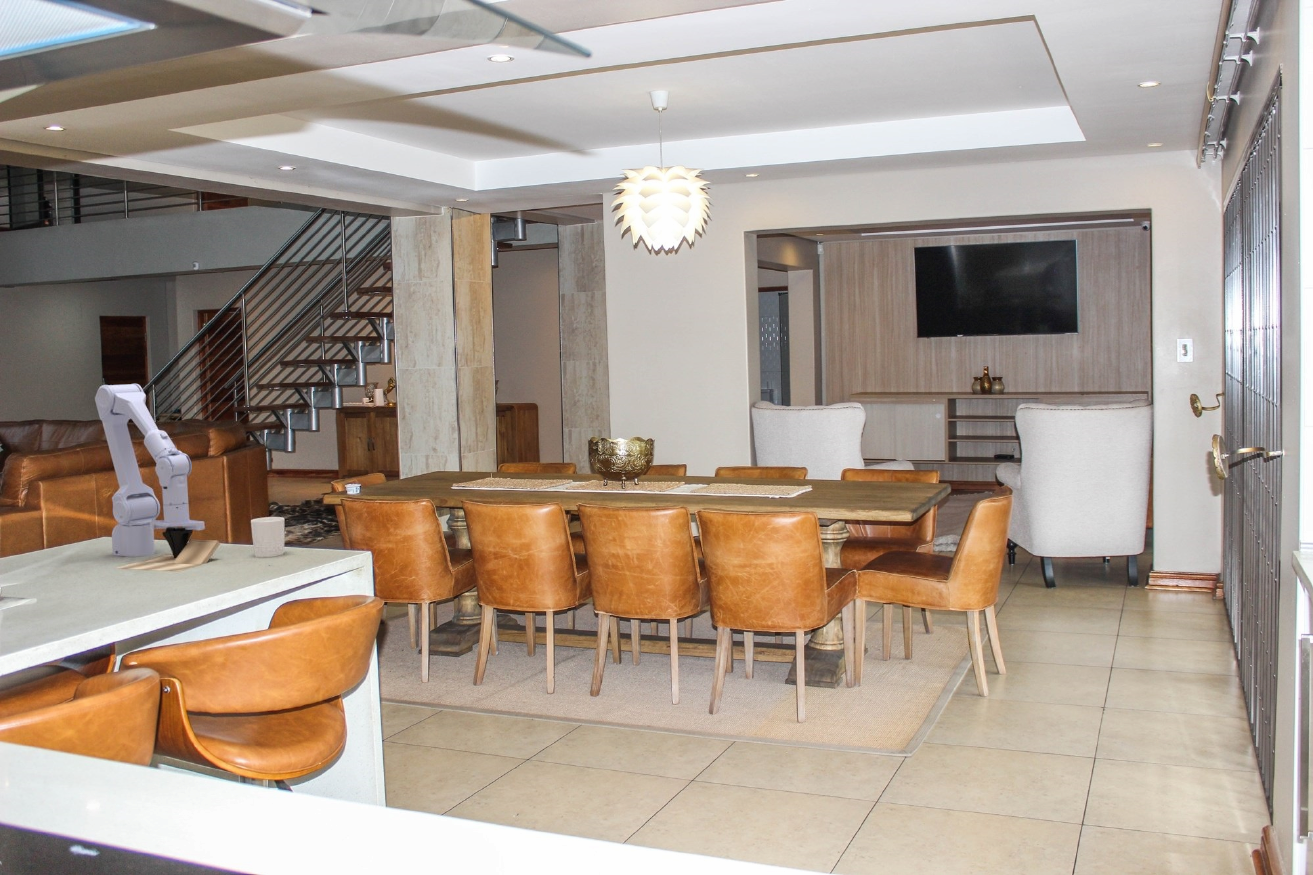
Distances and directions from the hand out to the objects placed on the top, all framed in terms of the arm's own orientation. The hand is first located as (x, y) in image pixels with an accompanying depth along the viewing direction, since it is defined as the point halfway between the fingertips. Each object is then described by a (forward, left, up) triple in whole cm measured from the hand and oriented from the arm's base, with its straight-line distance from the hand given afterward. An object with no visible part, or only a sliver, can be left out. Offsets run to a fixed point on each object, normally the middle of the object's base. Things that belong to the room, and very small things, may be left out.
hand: (179, 558), depth 279 cm
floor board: (+2, -10, -1) cm, 10 cm away
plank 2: (+7, -2, +1) cm, 7 cm away
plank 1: (-2, -1, -1) cm, 2 cm away
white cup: (+19, +9, -1) cm, 21 cm away
